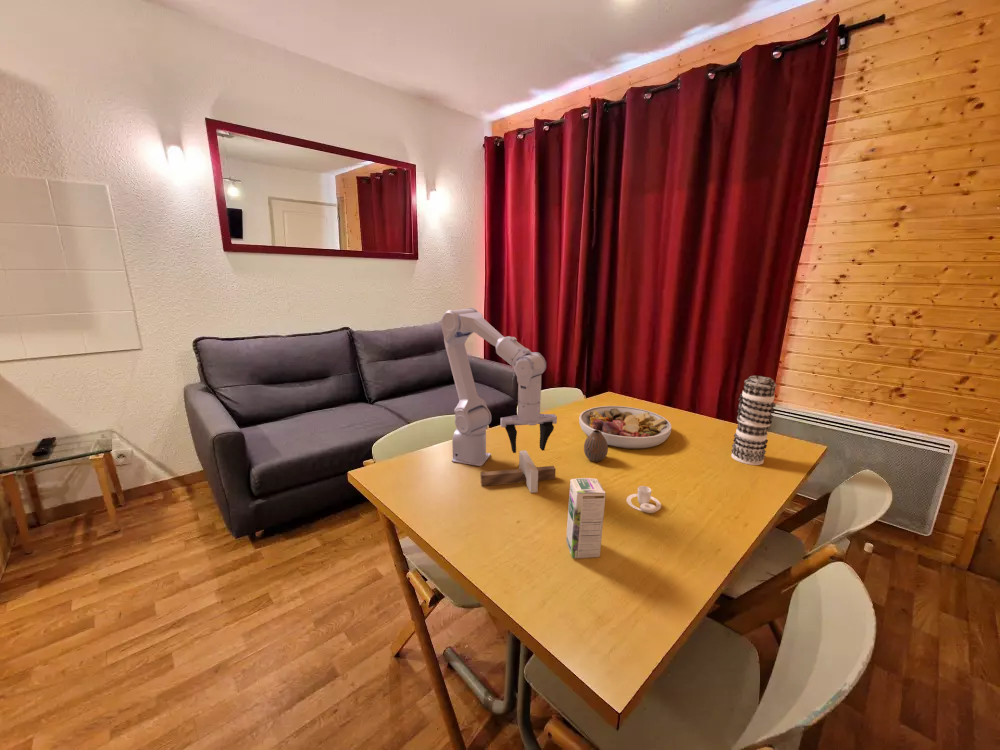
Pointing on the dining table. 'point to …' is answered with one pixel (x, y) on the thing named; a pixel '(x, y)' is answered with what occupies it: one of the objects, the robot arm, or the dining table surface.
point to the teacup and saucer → (644, 500)
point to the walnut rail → (514, 476)
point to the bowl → (626, 426)
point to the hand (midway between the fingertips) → (527, 450)
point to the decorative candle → (753, 420)
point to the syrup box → (585, 517)
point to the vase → (596, 446)
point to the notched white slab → (529, 471)
